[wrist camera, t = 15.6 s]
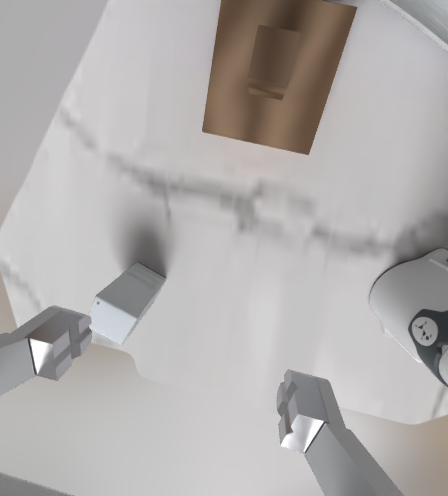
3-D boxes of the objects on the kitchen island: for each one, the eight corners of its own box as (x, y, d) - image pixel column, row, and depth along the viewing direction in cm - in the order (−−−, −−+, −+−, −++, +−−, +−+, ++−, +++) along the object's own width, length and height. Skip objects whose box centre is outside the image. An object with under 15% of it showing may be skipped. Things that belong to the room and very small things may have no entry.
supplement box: (125, 285, 47) (81, 325, 35) (137, 260, 44) (94, 294, 32) (154, 302, 47) (121, 347, 36) (168, 279, 45) (137, 319, 33)
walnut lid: (354, 12, 22) (385, -37, 17) (307, 154, 28) (319, 152, 22) (224, -11, 23) (215, -65, 18) (203, 132, 28) (191, 124, 23)
